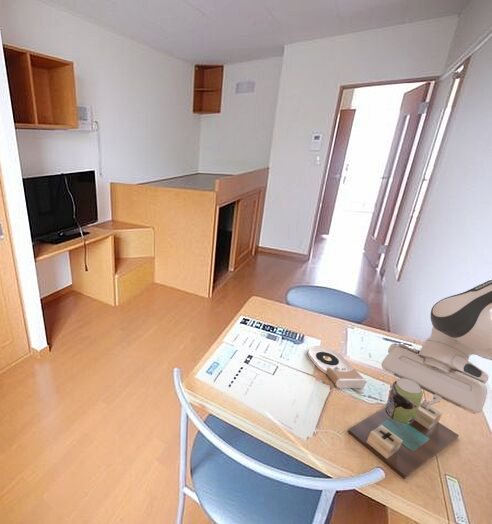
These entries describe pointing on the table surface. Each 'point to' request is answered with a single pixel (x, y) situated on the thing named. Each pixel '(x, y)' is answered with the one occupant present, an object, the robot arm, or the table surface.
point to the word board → (404, 438)
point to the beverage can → (404, 400)
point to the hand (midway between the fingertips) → (416, 404)
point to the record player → (336, 367)
